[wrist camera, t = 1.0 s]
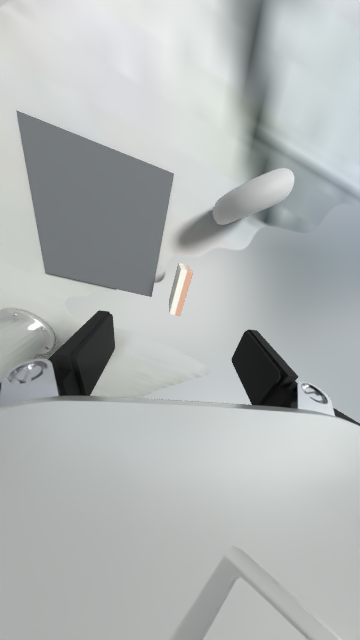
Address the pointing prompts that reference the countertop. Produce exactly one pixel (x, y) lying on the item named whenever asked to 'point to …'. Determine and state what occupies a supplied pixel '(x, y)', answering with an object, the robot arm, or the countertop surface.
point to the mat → (95, 208)
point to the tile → (180, 289)
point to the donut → (254, 196)
